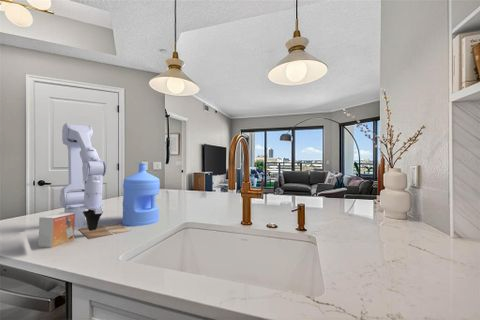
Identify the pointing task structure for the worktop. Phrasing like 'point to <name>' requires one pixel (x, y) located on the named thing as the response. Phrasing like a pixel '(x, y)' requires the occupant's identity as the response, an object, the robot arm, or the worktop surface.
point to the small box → (56, 229)
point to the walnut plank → (95, 232)
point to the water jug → (140, 198)
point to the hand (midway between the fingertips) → (92, 230)
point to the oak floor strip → (116, 228)
